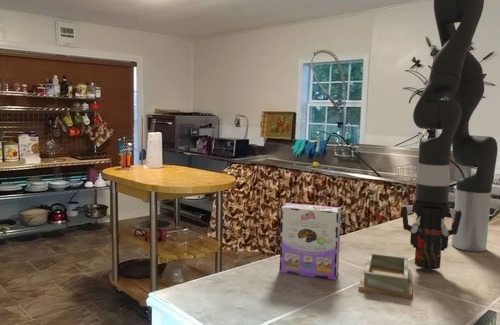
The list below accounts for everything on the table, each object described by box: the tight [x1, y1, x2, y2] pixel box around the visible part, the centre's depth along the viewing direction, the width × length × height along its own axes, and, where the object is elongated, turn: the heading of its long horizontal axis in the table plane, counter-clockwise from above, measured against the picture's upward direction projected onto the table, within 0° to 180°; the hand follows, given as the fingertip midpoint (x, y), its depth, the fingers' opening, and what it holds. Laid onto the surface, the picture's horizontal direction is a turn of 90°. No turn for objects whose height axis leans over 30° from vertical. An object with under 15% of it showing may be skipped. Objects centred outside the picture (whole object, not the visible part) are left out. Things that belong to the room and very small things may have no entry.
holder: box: [358, 252, 413, 300], centre depth 100 cm, size 16×11×4 cm
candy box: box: [278, 202, 342, 280], centre depth 104 cm, size 14×6×16 cm, turn 71°
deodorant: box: [414, 207, 444, 270], centre depth 107 cm, size 6×6×15 cm
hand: (428, 248), depth 107 cm, fingers closed on deodorant, 6 cm apart
